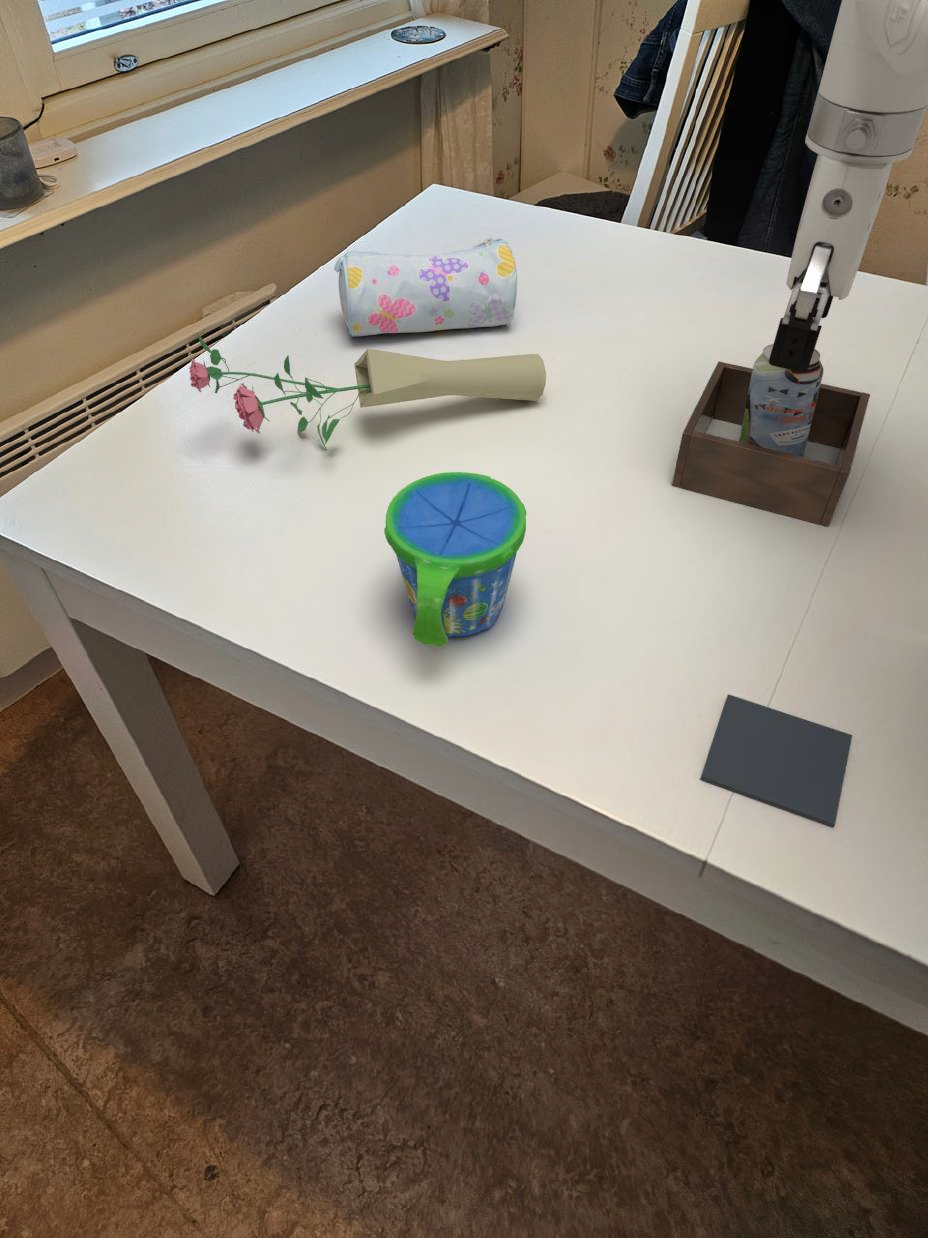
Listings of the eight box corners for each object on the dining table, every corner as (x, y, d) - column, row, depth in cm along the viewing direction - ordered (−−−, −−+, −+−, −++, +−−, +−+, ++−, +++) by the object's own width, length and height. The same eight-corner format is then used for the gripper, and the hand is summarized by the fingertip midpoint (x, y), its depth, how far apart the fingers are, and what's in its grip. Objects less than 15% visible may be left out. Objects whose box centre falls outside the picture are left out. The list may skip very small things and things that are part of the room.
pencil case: (506, 301, 108) (508, 224, 102) (523, 335, 103) (526, 256, 96) (339, 318, 106) (329, 240, 99) (346, 354, 100) (337, 274, 93)
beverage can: (752, 493, 82) (785, 381, 73) (716, 449, 87) (743, 338, 78) (811, 482, 83) (851, 370, 74) (773, 438, 88) (806, 329, 79)
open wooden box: (850, 445, 87) (870, 393, 83) (828, 526, 79) (849, 473, 74) (706, 412, 91) (718, 360, 87) (671, 485, 83) (682, 432, 79)
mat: (850, 738, 63) (852, 734, 63) (833, 827, 58) (834, 824, 58) (727, 697, 66) (728, 693, 65) (700, 779, 61) (701, 776, 60)
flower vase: (524, 474, 97) (200, 493, 82) (489, 390, 102) (179, 395, 87) (566, 400, 87) (208, 407, 73) (526, 312, 92) (183, 303, 78)
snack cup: (484, 695, 66) (486, 601, 58) (359, 658, 68) (345, 563, 61) (546, 563, 76) (554, 468, 68) (434, 534, 78) (430, 441, 71)
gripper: (905, 175, 57) (826, 401, 69) (930, 95, 67) (857, 303, 80) (788, 157, 59) (732, 379, 71) (830, 82, 69) (775, 287, 82)
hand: (798, 339), depth 76 cm, fingers open, 9 cm apart
